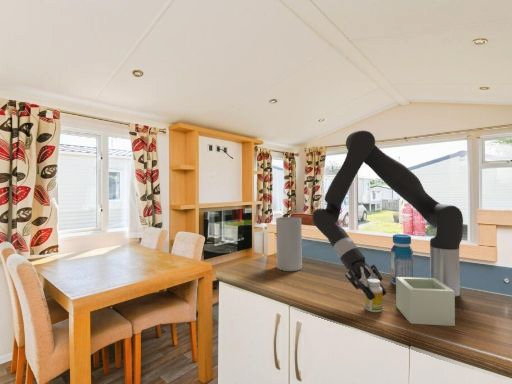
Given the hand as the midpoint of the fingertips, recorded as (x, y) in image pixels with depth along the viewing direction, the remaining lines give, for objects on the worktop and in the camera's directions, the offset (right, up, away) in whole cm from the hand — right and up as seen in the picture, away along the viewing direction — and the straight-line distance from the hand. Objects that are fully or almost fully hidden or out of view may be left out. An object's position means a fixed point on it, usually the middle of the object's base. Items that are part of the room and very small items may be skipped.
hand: (378, 296), depth 92 cm
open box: (+13, -5, -3) cm, 14 cm away
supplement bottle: (-1, -5, +2) cm, 5 cm away
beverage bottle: (+21, -4, +26) cm, 33 cm away
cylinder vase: (-23, -4, +50) cm, 56 cm away
